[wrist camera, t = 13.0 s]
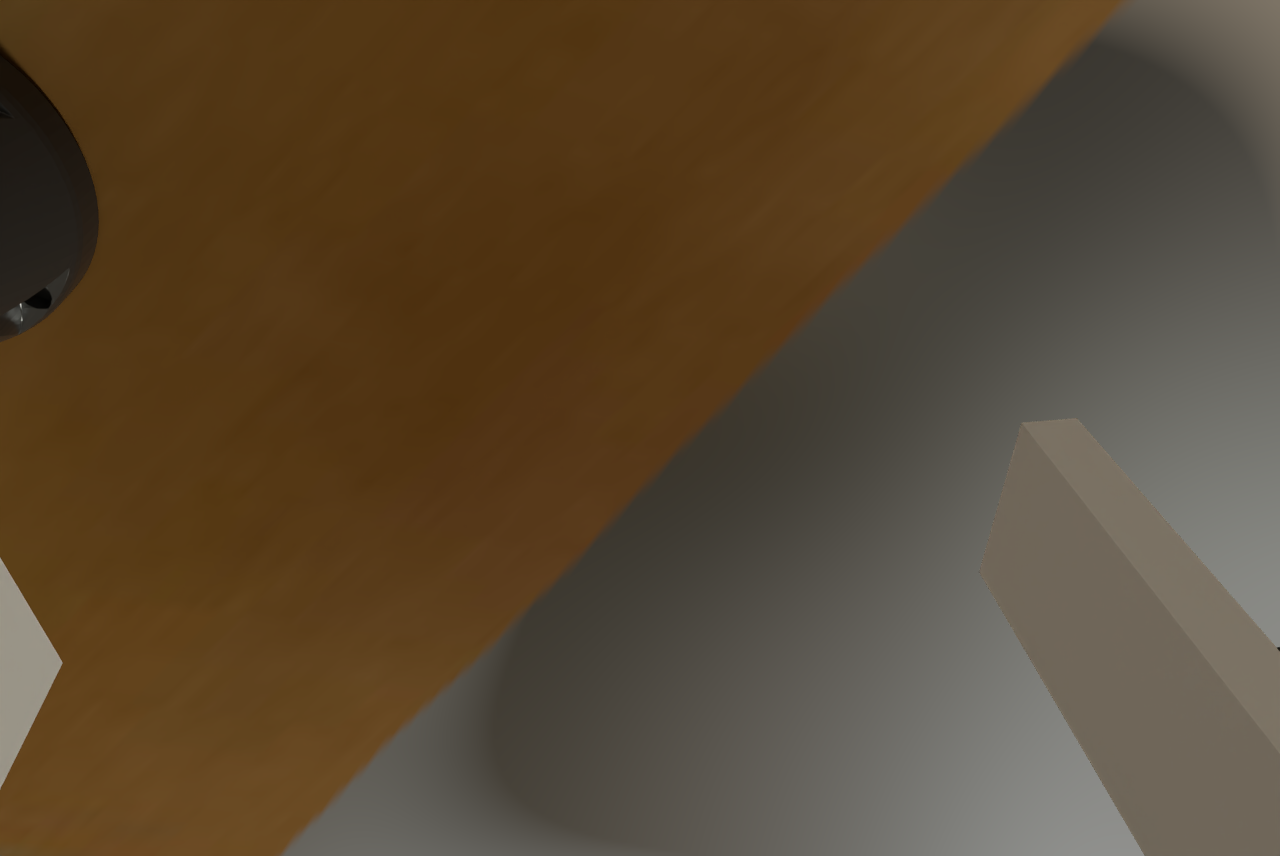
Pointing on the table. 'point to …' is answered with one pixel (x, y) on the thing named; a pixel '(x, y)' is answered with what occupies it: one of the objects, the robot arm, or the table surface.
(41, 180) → the robot arm
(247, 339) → the table surface
